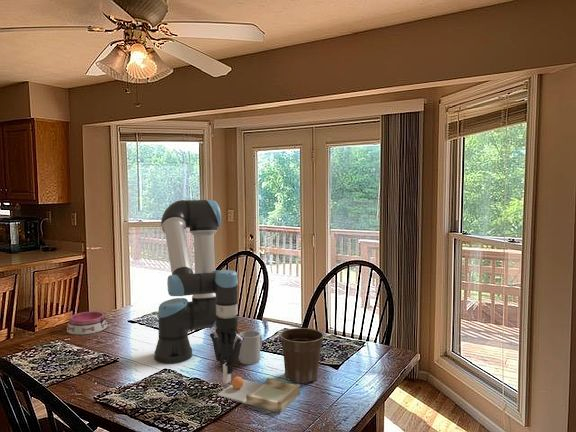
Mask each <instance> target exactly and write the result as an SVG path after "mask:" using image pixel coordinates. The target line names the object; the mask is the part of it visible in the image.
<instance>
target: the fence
mask: <svg viewBox="0 0 576 432" xmlns="http://www.w3.org/2000/svg"><path fill="white" fill-rule="evenodd" d="M265 385H266V386H267V387H272V388H276V389H280V390H284V391H288V393H287V394H285V395H284V396H283V397H282V398H281V399H280V400H279V401H275V400H271V399H267V398H263V397H259V396H255V395H251V394H247V395H246V405H249V406H252V407H257V408H260V409H265V410H267V411H272V412H275V413H280V411H281V410H282V409H283V411H285V409H284V407H286V405H288V404H289V403H290V402H291V401H292V400H293V399H294V398H296V397H297V395H298V397H299V396H300V395H299V393H300V394H301V383H288V382H284V381H279V380H276V379H271V378H266V383H265ZM298 397H297V398H298ZM297 398H296V399H297ZM293 401H294V400H293ZM293 401H292V402H293ZM292 402H291V403H292ZM291 403H290V404H291ZM290 404H289V405H290ZM257 405H258V406H257ZM289 405H288V406H289ZM261 407H262V408H261ZM264 407H265V408H264ZM266 408H267V409H266ZM286 408H287V407H286ZM272 409H274V410H275V411H273V410H272ZM277 411H278V412H277ZM283 411H281V413H282V412H283ZM281 413H280V414H281Z"/></svg>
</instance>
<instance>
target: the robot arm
mask: <svg viewBox="0 0 576 432" xmlns="http://www.w3.org/2000/svg"><path fill="white" fill-rule="evenodd" d="M160 223H161V224H160V226H161V229H162V233H164V235H165V239H166V247H167V251H168V252H167V253H168V258H169V259H168V260H169V265H170V271H171V274H170V275H168V277H167V280H166V281H167V293H168V295H169V296H170V297H176V298H171V299H167V300H165V301H163V302H161V303H160V304H159V306H158V312H157V317H158V340H157V343H156V347H155V350H154V353H153V355H154V360H155V361H156V362H157V363H158V362H159V363H163V364H178V363H183V362H186V361H188V360H189V359H191V358H192V357H193V349H192V346H191V344H190V340H189V335H188V333H189V332H188V331H195V330H203V329H212V328H216V329H215V331H214V332H212V333H210V334H209V336H210V339H211V341H212V345H213V350H214V355H215V356H214V357H215V360H216V361H217V362H220V366H221V367H220V369H221V370H220V371H221V373H222V384H225V385H227V384H229V383H230V382H232V374H233V372H234V371H233V369H234V368H233V367H234V366H233V365H234V364H236V363H238V362H239V353H240V348H241V343H242V342H243V340H244V337H240V336H239V331H238V325H239V323H238V321H239V320H238V319H239V317H238V314H239V313H238V312H239V311H238V310H239V309H238V305H239V304H238V301H239V299H238V298H239V297H238V293H239V292H238V291H239V290H238V288H239V287H238V284H239V280H238V273H237V271H236V270H231V269H223V270H218V269H217V270H216V257H215V255H216V254H215V235H216V233H217V232H218V228H220V227H221V225H222V212H221V208H220V206H219V204H218V202H217V201H215V200H213V199H211V200H210V199H190V200H189V199H188V200H187V199H186V200H185V199H182V200H181V199H180V200H177V201H174V202H173V203H171V204H169V206H167V208H166V209H165V210H164V212H163V214H162V216H161V220H160ZM186 228H187V229H188V228H189V233H190V234H191V235H192V236H193V253H194V254H193V257H194V268H193V265H192V259H191V256H190V251H189V246H188V240H187V235H186V232H185V230H186ZM193 269H194V270H193ZM184 296H192V297H191V301H188V299H187V298H185V297H184ZM177 297H178V298H177Z"/></svg>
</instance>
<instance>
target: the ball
mask: <svg viewBox="0 0 576 432" xmlns="http://www.w3.org/2000/svg"><path fill="white" fill-rule="evenodd" d="M231 385H232V386H233V387H234V388H235V389H239V388H241V387H242V386H243V378H242V377H241V376H234V378H233V379H231Z"/></svg>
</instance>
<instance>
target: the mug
mask: <svg viewBox="0 0 576 432" xmlns="http://www.w3.org/2000/svg"><path fill="white" fill-rule="evenodd" d="M238 335H239V336H240V337H244V340H243V342H242V343H241V348H240V353H239V357H238V362H239V363H240V364H242V365H255V364H258V363H259V362H260V360H261V348H262V345H263V337H262V334H261V333H260V332H259V331H257V330H245V331H241V332H240V333H238Z"/></svg>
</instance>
